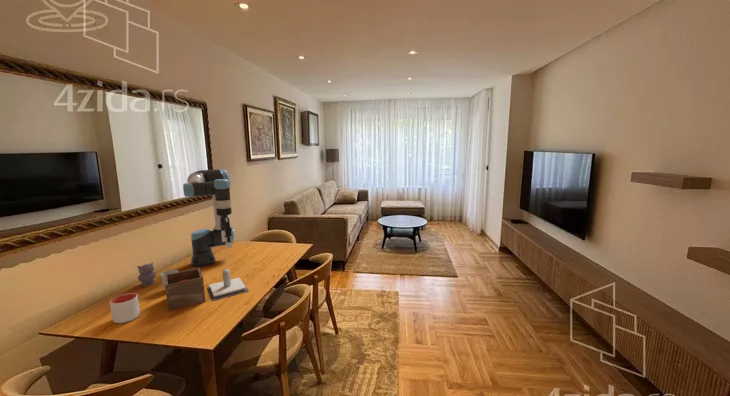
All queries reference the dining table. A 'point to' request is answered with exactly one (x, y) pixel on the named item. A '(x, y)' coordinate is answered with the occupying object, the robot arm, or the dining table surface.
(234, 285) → the lid
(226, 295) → the mat
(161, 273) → the cup
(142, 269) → the cat figurine
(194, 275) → the box
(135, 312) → the cup
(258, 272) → the dining table surface
